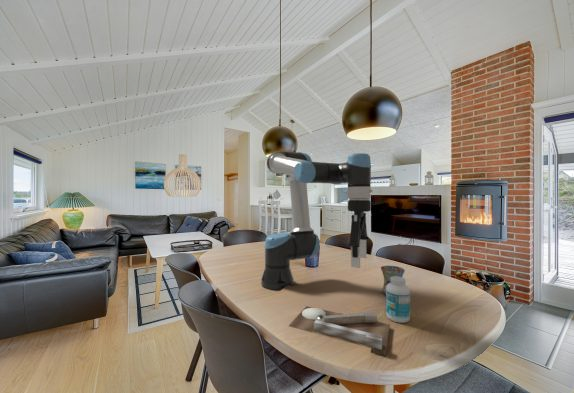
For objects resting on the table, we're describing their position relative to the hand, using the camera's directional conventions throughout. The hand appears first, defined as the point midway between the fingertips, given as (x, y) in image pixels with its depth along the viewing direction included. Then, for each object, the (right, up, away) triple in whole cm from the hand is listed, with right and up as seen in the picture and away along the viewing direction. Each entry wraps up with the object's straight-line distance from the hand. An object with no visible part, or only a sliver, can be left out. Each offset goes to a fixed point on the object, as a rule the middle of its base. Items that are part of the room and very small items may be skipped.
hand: (359, 262), depth 83 cm
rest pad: (-16, -18, 0) cm, 23 cm away
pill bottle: (+13, -19, 0) cm, 23 cm away
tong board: (-8, -19, -7) cm, 22 cm away
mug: (+21, -19, +22) cm, 35 cm away
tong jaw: (-6, -17, -6) cm, 19 cm away
